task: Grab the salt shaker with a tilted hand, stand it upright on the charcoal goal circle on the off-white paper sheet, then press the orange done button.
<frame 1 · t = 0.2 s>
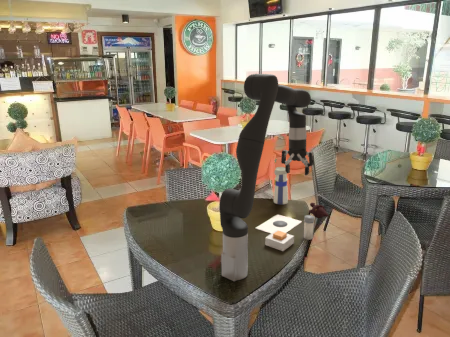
hand: (297, 174, 166), 28 cm above the table, tool pointing down, fingers open, 8 cm apart
done button: (279, 236, 162), point 4 cm above the table, slide at 0.0 cm
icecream: (318, 217, 189), on the table
paper: (279, 225, 181), on the table
water bottle: (280, 202, 209), on the table
salt shaker: (308, 237, 168), on the table
button housing: (279, 244, 163), on the table
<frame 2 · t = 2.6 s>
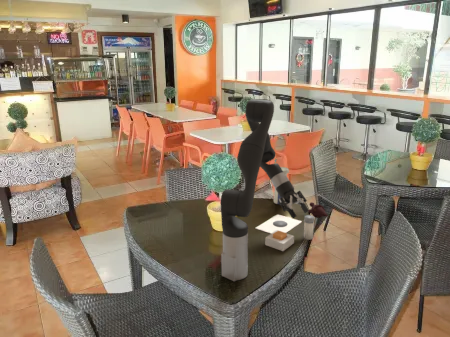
hand: (301, 214, 169), 10 cm above the table, tool tilted 45°, fingers open, 8 cm apart
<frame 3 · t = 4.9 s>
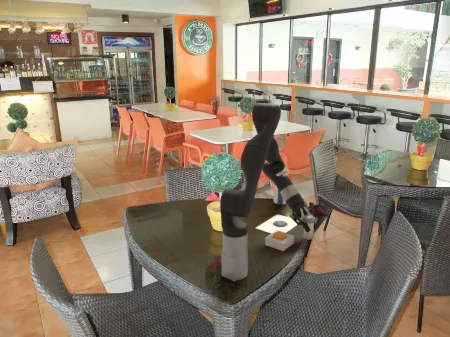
hand: (312, 229, 166), 5 cm above the table, tool tilted 45°, fingers closed on salt shaker, 4 cm apart
salt shaker: (308, 237, 168), on the table, touching gripper
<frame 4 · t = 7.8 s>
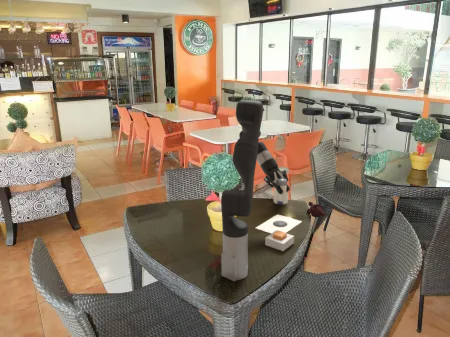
hand: (285, 192, 175), 17 cm above the table, tool tilted 45°, fingers closed on salt shaker, 4 cm apart
salt shaker: (281, 199, 178), point 13 cm above the table, touching gripper
when the fingers open (6 cm above the table, at t = 10.8 s): salt shaker drops 1 cm, resting on paper.
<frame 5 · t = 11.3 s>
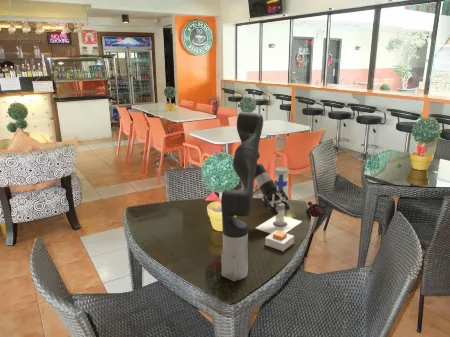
hand: (282, 212, 179), 7 cm above the table, tool tilted 45°, fingers open, 8 cm apart
salt shaker: (279, 223, 181), resting on paper
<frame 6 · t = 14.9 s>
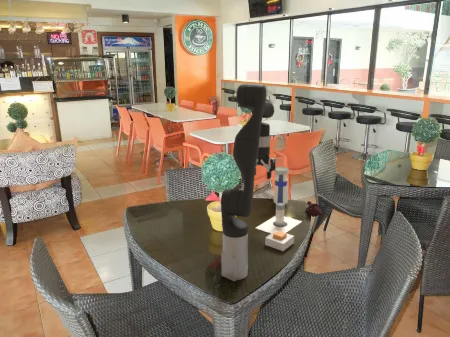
hand: (261, 177, 184), 21 cm above the table, tool pointing down, fingers open, 8 cm apart
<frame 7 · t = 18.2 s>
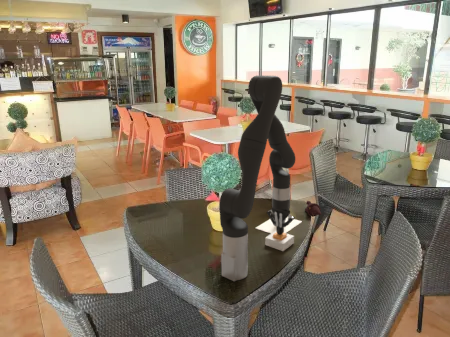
hand: (280, 233, 162), 5 cm above the table, tool pointing down, fingers closed
done button: (279, 236, 162), point 4 cm above the table, slide at 0.2 cm, touching gripper
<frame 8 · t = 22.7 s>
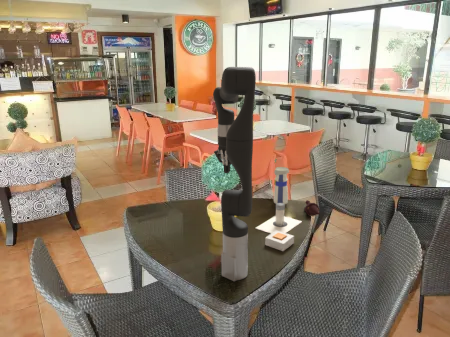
hand: (226, 172, 166), 29 cm above the table, tool pointing down, fingers closed
done button: (279, 238, 162), point 3 cm above the table, slide at 1.0 cm
at the end: salt shaker 0.2 cm from the target spot on the paper, point 0.4 cm above the paper's base; salt shaker tilted 0°; done button slide at 1.0 cm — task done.
